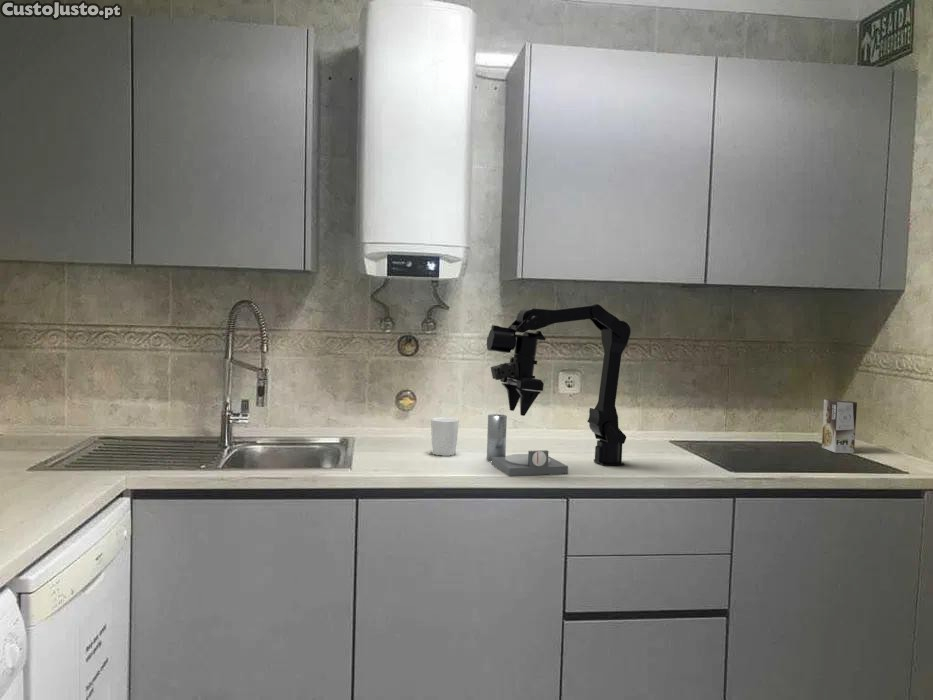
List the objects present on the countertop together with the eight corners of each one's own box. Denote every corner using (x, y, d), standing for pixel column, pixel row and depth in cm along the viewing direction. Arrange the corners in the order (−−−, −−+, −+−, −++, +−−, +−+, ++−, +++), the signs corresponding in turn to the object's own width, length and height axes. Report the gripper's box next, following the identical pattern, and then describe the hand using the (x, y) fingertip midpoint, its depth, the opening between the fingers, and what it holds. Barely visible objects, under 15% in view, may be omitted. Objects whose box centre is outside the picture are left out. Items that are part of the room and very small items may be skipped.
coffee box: (855, 453, 228) (858, 402, 227) (834, 453, 228) (837, 401, 227) (840, 448, 237) (843, 398, 236) (820, 447, 237) (823, 398, 236)
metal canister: (501, 458, 206) (503, 413, 205) (508, 462, 201) (509, 416, 200) (484, 458, 204) (485, 414, 203) (490, 462, 199) (491, 416, 198)
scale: (546, 462, 201) (547, 440, 201) (567, 473, 188) (568, 450, 187) (491, 464, 197) (492, 442, 196) (509, 476, 183) (510, 452, 183)
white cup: (433, 457, 204) (434, 421, 204) (427, 451, 212) (428, 417, 212) (460, 456, 207) (461, 421, 206) (453, 450, 214) (454, 417, 214)
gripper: (486, 349, 201) (479, 405, 202) (506, 353, 183) (498, 415, 184) (524, 354, 204) (517, 409, 205) (547, 359, 186) (539, 419, 187)
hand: (517, 413), depth 195 cm, fingers open, 9 cm apart
